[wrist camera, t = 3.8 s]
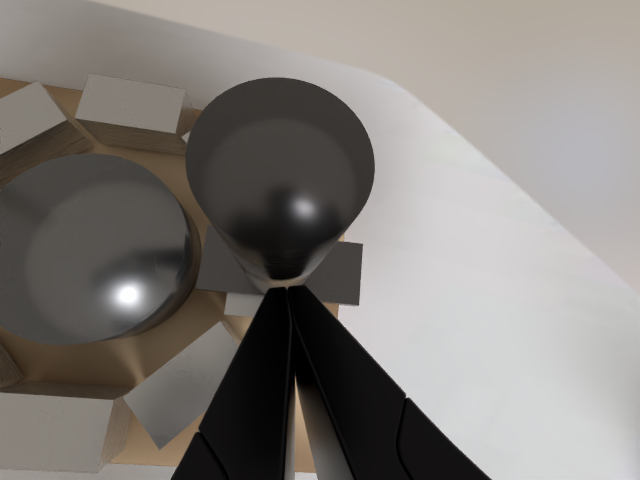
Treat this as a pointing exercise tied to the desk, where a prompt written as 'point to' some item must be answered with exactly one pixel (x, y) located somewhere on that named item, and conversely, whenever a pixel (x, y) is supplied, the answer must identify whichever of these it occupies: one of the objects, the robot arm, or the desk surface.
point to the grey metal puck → (92, 251)
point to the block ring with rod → (219, 247)
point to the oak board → (149, 347)
